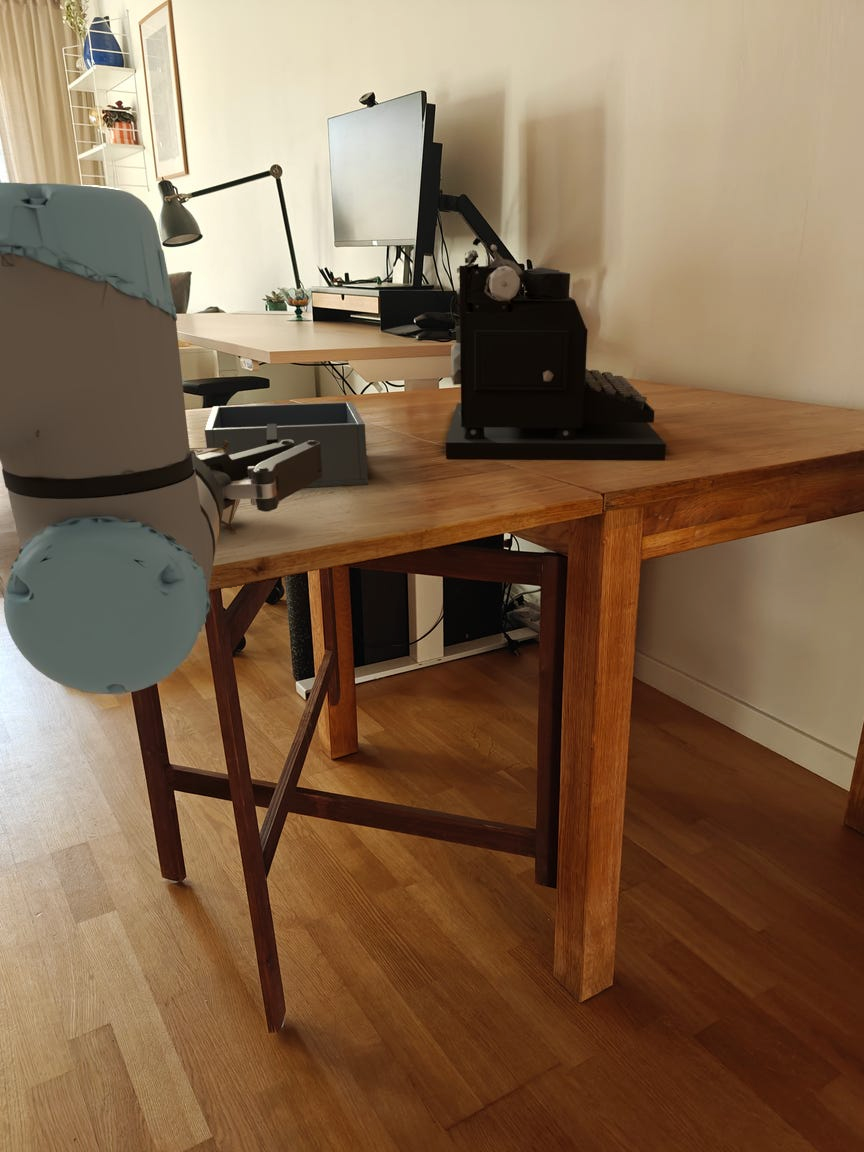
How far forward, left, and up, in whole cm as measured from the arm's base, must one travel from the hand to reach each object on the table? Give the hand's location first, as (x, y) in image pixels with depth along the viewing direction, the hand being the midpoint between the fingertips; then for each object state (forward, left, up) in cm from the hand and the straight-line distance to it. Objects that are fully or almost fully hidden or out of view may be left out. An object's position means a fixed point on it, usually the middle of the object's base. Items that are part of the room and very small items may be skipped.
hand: (183, 445), depth 67 cm
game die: (0, +10, -10) cm, 14 cm away
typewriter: (+44, +47, -10) cm, 65 cm away
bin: (+8, +32, -10) cm, 34 cm away
